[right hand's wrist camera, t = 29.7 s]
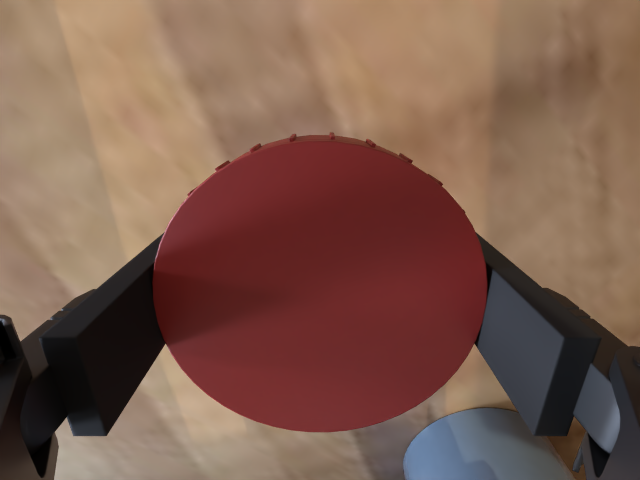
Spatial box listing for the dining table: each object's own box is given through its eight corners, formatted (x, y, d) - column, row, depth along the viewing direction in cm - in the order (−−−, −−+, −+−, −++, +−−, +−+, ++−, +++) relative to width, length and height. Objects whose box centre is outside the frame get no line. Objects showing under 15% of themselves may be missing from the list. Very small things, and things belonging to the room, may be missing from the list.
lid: (108, 245, 11) (74, 268, 10) (372, 57, 9) (383, 48, 8) (285, 431, 14) (281, 471, 13) (513, 319, 12) (541, 350, 11)
